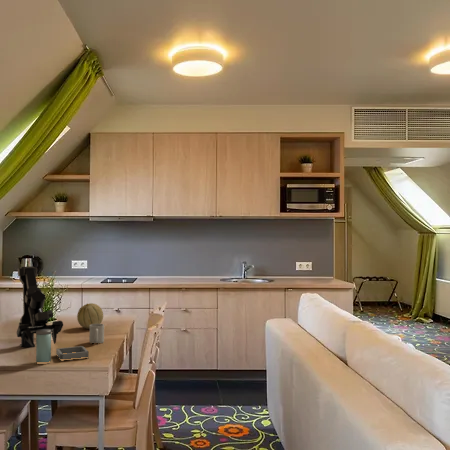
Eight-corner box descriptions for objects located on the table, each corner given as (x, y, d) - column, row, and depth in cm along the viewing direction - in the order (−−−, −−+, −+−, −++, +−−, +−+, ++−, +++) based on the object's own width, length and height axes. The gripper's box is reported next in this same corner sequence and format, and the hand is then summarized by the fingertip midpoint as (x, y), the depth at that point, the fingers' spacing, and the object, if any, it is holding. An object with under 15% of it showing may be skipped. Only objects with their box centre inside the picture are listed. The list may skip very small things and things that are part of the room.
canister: (37, 361, 212) (37, 329, 213) (52, 360, 214) (52, 328, 214) (34, 365, 206) (34, 332, 206) (49, 364, 207) (49, 331, 208)
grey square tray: (56, 355, 223) (56, 348, 223) (82, 352, 228) (83, 345, 228) (60, 361, 212) (60, 354, 212) (88, 358, 218) (88, 351, 218)
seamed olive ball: (106, 326, 290) (107, 301, 290) (97, 331, 275) (98, 305, 275) (82, 325, 291) (83, 300, 291) (72, 330, 277) (73, 304, 277)
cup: (104, 340, 253) (104, 323, 253) (103, 345, 243) (103, 327, 243) (89, 341, 251) (90, 323, 251) (88, 345, 242) (88, 327, 242)
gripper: (18, 306, 208) (25, 336, 199) (62, 302, 219) (70, 331, 210) (13, 321, 214) (20, 352, 205) (56, 317, 225) (64, 345, 216)
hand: (44, 344), depth 209 cm, fingers open, 9 cm apart
